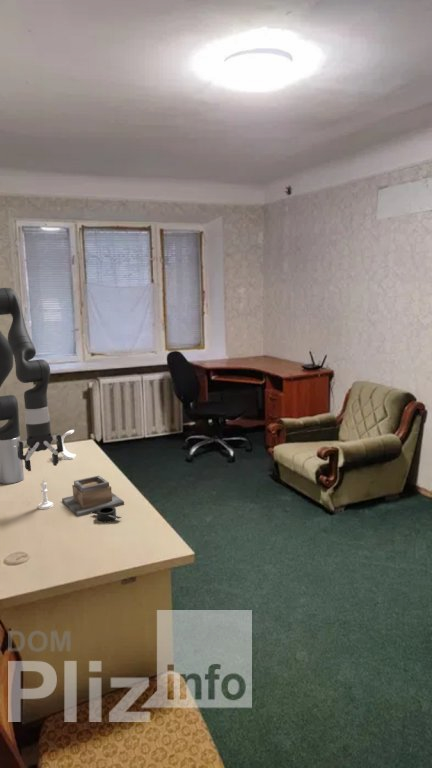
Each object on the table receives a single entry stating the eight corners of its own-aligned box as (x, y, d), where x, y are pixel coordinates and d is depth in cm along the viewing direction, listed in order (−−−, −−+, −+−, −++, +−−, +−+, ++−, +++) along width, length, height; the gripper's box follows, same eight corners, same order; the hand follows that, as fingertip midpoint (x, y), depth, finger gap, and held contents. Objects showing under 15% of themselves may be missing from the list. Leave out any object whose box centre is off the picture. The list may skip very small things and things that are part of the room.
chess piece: (39, 510, 178) (36, 481, 177) (37, 505, 183) (34, 477, 181) (54, 507, 181) (52, 479, 179) (51, 502, 185) (49, 474, 183)
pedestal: (62, 501, 186) (60, 480, 184) (105, 490, 194) (104, 470, 193) (78, 516, 173) (76, 494, 171) (124, 504, 181) (122, 483, 180)
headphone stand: (73, 459, 233) (70, 432, 231) (59, 459, 233) (57, 432, 231) (76, 456, 237) (74, 429, 235) (62, 456, 237) (60, 429, 235)
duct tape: (98, 527, 165) (98, 518, 164) (91, 515, 173) (90, 507, 173) (123, 522, 168) (122, 513, 167) (114, 510, 177) (114, 502, 176)
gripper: (55, 415, 183) (59, 461, 186) (12, 422, 176) (17, 469, 178) (62, 419, 177) (66, 466, 180) (18, 426, 170) (23, 475, 172)
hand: (42, 467), depth 179 cm, fingers open, 8 cm apart
